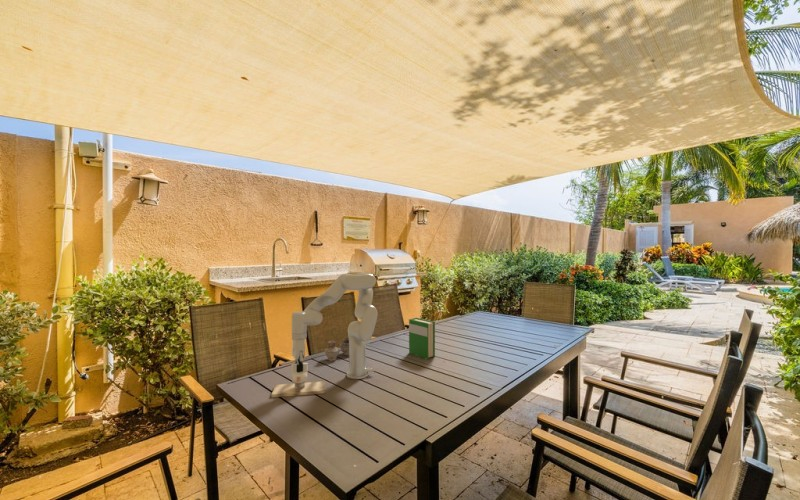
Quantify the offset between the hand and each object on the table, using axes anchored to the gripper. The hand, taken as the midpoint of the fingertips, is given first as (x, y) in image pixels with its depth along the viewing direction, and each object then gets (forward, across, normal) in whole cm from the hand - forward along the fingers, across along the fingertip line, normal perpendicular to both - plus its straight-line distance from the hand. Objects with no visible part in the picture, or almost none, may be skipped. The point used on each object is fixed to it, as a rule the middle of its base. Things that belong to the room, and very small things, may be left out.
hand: (299, 370), depth 178 cm
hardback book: (+10, -19, +87) cm, 90 cm away
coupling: (+5, +1, 0) cm, 5 cm away
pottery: (+11, -42, +36) cm, 57 cm away
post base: (+11, 0, 0) cm, 11 cm away
